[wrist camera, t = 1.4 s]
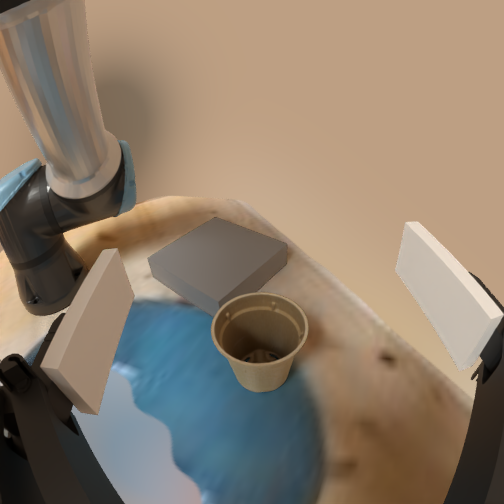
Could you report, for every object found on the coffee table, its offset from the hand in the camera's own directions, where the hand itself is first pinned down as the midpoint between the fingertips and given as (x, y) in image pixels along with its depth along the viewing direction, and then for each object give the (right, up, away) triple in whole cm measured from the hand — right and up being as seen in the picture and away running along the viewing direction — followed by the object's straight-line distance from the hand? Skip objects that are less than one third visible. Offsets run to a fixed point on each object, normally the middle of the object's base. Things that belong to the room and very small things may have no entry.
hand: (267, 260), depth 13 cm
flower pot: (0, -14, +20) cm, 24 cm away
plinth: (-6, -3, +36) cm, 36 cm away
